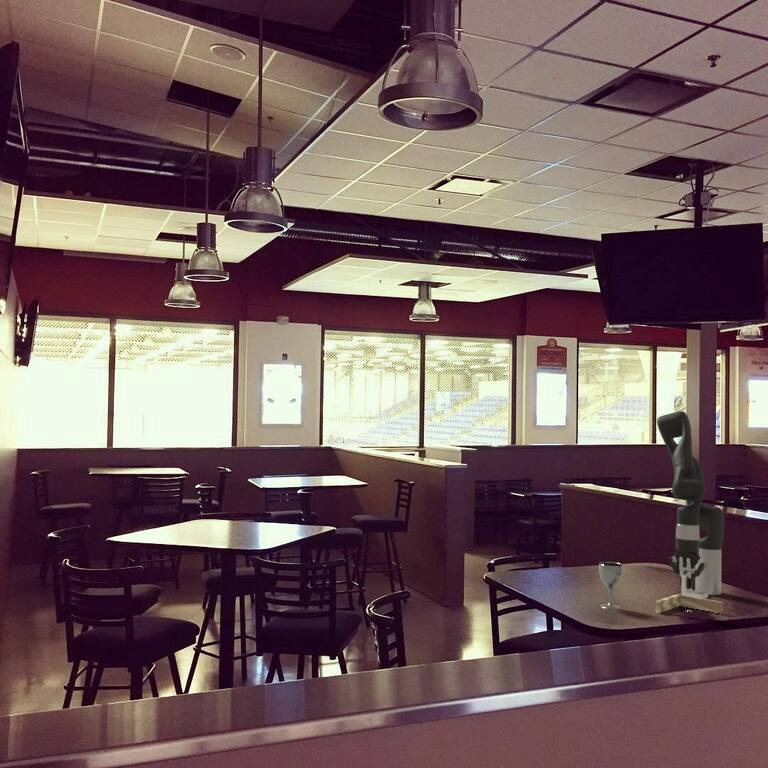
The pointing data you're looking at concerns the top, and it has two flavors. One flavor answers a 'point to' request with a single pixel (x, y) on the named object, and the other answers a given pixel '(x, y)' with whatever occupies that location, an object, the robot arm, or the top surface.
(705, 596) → the bracket
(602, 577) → the wine glass
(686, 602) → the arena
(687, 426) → the robot arm
